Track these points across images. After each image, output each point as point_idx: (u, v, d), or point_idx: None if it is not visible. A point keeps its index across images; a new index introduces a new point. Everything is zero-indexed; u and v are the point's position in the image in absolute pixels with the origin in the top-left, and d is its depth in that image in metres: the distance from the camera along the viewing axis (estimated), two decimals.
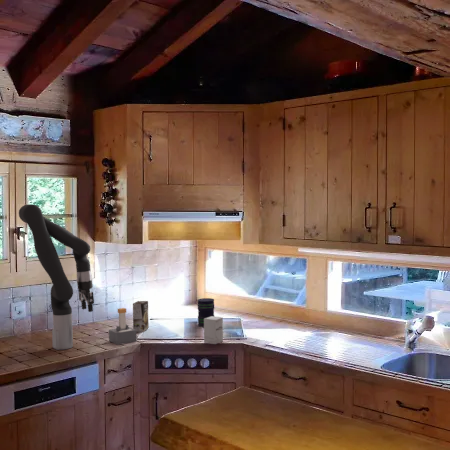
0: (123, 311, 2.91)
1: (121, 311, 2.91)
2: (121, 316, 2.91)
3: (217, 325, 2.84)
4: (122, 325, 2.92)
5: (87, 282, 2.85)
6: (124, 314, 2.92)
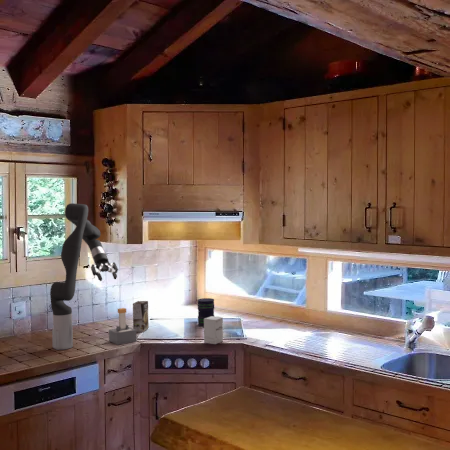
0: (123, 311, 2.91)
1: (121, 311, 2.91)
2: (121, 316, 2.91)
3: (217, 325, 2.84)
4: (122, 325, 2.92)
5: None
6: (124, 314, 2.92)
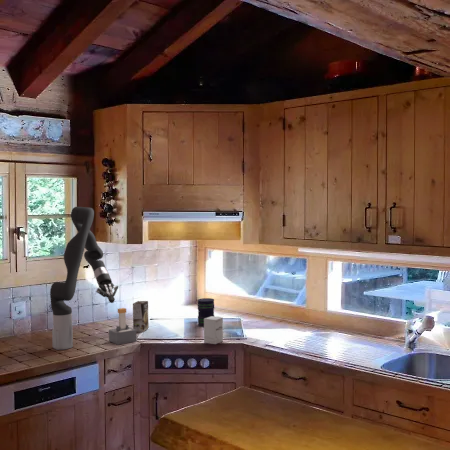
0: (123, 311, 2.91)
1: (121, 311, 2.91)
2: (121, 316, 2.91)
3: (217, 325, 2.84)
4: (122, 325, 2.92)
5: None
6: (124, 314, 2.92)
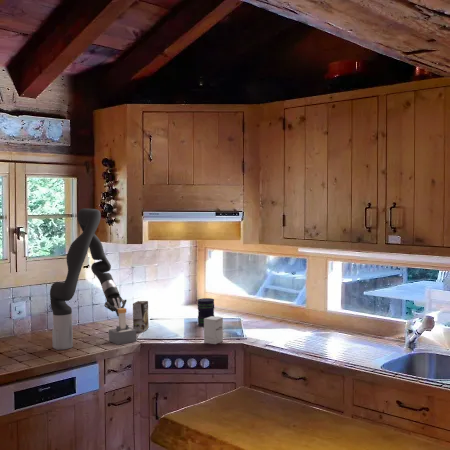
0: (123, 311, 2.91)
1: (121, 311, 2.91)
2: (121, 316, 2.91)
3: (217, 325, 2.84)
4: (122, 325, 2.92)
5: None
6: (124, 314, 2.92)
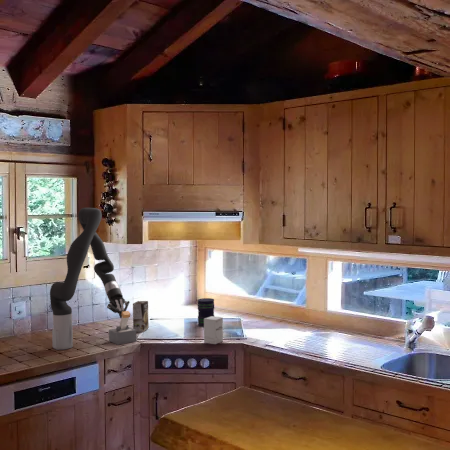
0: (126, 316, 2.88)
1: (125, 316, 2.87)
2: (124, 320, 2.89)
3: (217, 325, 2.84)
4: (122, 327, 2.91)
5: None
6: (127, 318, 2.89)
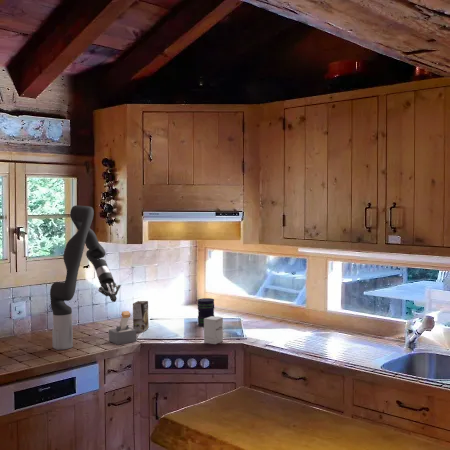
0: (126, 316, 2.88)
1: (125, 316, 2.87)
2: (124, 320, 2.89)
3: (217, 325, 2.84)
4: (122, 327, 2.91)
5: None
6: (127, 318, 2.89)
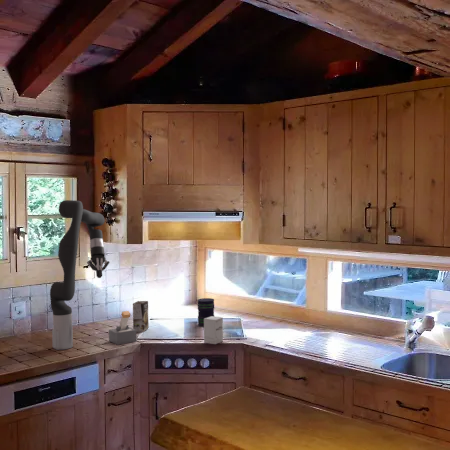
0: (126, 316, 2.88)
1: (125, 316, 2.87)
2: (124, 320, 2.89)
3: (217, 325, 2.84)
4: (122, 327, 2.91)
5: None
6: (127, 318, 2.89)
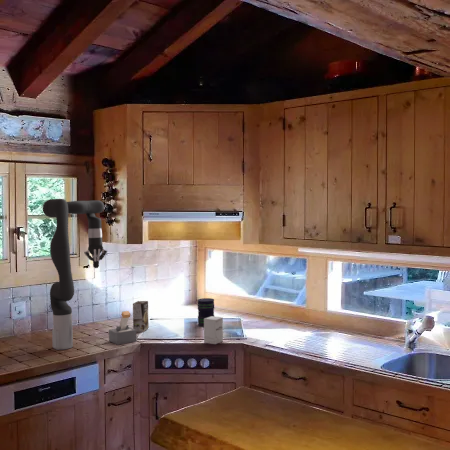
0: (126, 316, 2.88)
1: (125, 316, 2.87)
2: (124, 320, 2.89)
3: (217, 325, 2.84)
4: (122, 327, 2.91)
5: None
6: (127, 318, 2.89)
